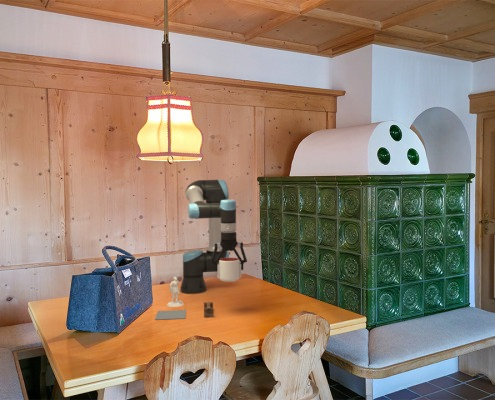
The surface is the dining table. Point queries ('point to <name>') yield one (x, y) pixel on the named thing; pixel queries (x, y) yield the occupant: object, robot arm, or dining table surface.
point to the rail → (208, 309)
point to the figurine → (173, 290)
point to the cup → (229, 269)
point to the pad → (171, 315)
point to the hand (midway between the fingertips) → (229, 277)
